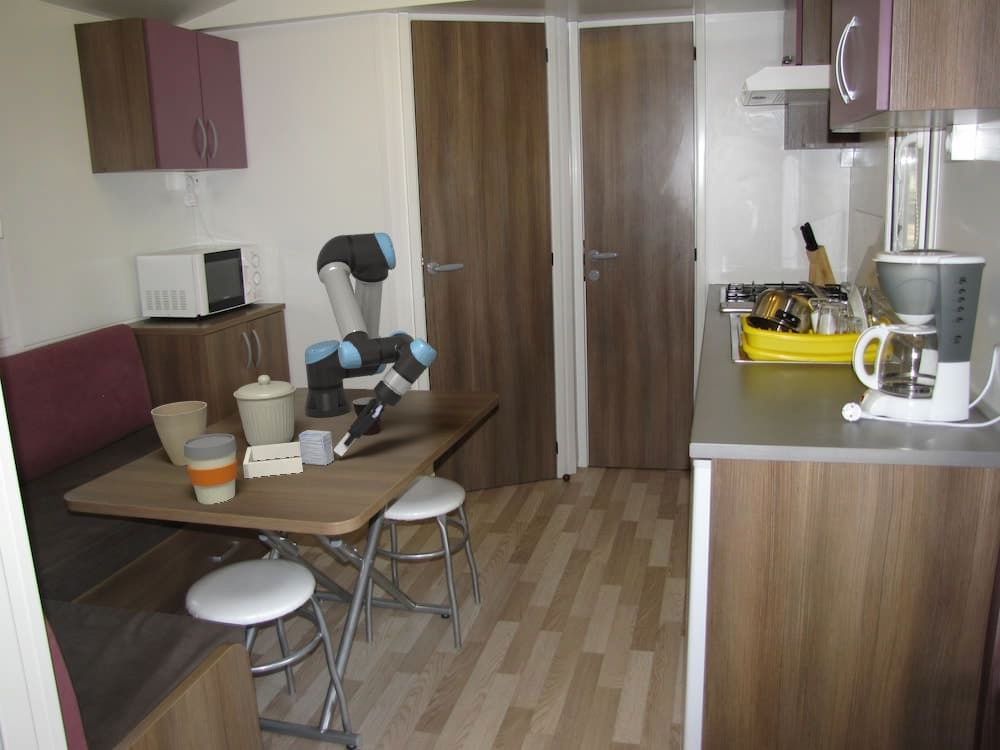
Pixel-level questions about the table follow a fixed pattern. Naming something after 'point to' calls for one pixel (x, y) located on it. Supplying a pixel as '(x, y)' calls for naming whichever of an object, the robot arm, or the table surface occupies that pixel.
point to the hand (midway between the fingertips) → (337, 452)
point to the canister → (267, 411)
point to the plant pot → (179, 426)
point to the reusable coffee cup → (212, 466)
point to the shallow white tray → (272, 466)
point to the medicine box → (316, 447)
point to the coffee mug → (359, 407)
